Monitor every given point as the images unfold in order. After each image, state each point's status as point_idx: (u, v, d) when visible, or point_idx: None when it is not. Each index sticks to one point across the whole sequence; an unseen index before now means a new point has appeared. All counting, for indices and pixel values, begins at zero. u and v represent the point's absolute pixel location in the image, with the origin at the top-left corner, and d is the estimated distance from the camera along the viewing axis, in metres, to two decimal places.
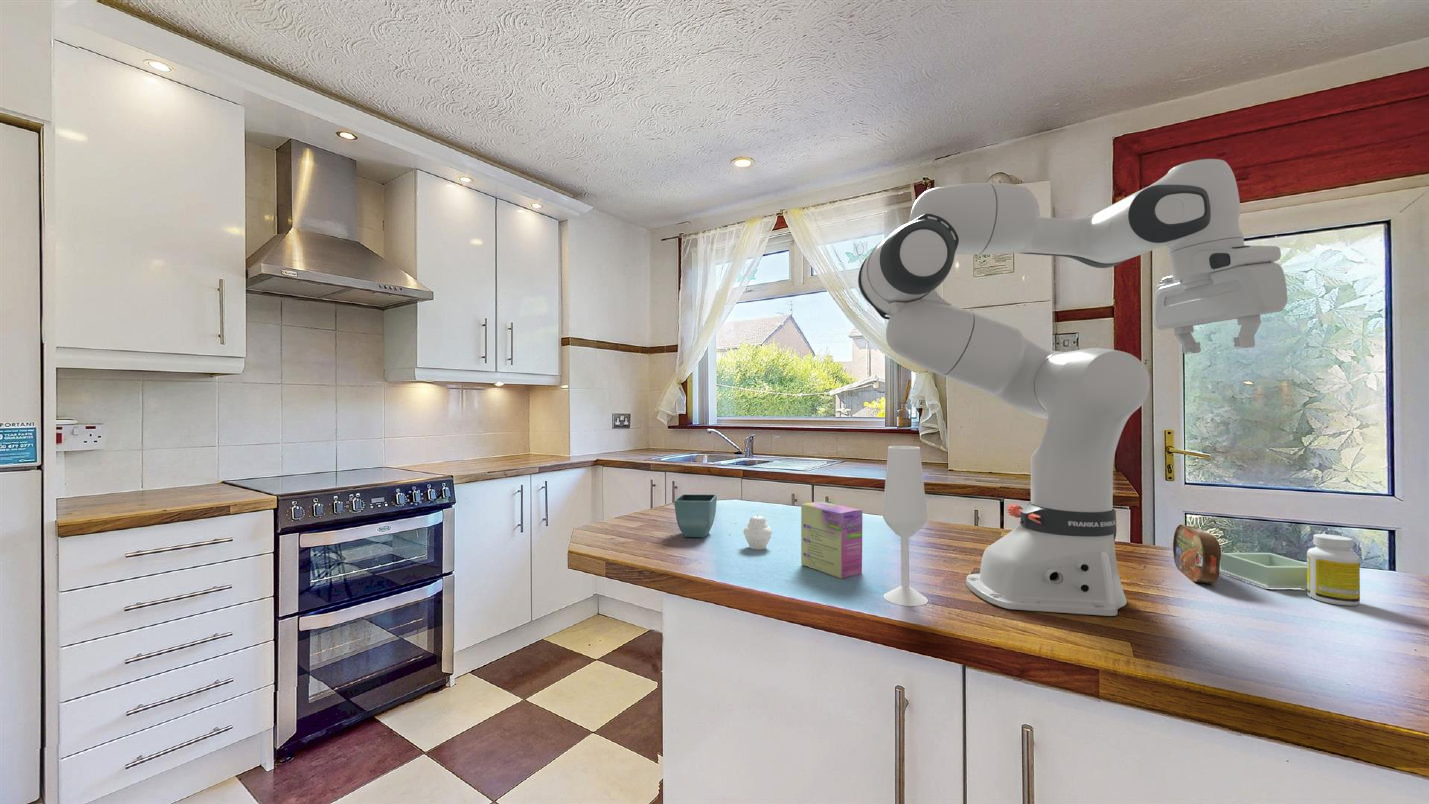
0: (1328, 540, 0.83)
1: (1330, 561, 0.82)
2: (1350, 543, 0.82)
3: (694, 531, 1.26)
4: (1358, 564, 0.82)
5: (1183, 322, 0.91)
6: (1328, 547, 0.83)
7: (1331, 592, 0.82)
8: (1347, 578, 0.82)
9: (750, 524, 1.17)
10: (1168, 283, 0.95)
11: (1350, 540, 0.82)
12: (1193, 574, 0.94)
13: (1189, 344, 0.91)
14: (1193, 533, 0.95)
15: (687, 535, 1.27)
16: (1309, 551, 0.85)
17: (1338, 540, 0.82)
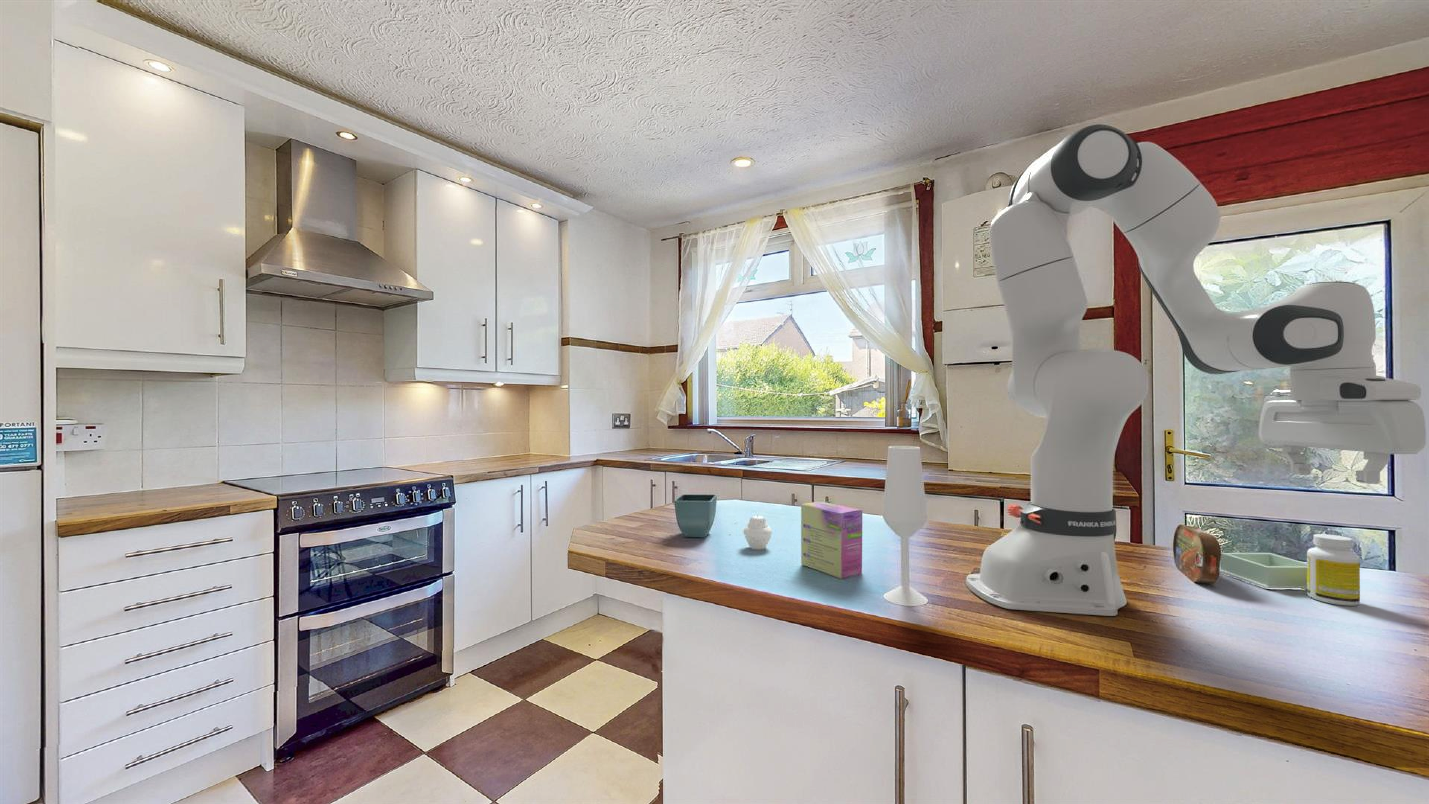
0: (1328, 540, 0.83)
1: (1330, 561, 0.82)
2: (1350, 543, 0.82)
3: (694, 531, 1.26)
4: (1358, 564, 0.82)
5: (1296, 442, 0.88)
6: (1328, 547, 0.83)
7: (1331, 592, 0.82)
8: (1347, 578, 0.82)
9: (750, 524, 1.17)
10: (1280, 397, 0.92)
11: (1350, 540, 0.82)
12: (1193, 574, 0.94)
13: (1299, 465, 0.88)
14: (1193, 533, 0.95)
15: (687, 535, 1.27)
16: (1309, 551, 0.85)
17: (1338, 540, 0.82)
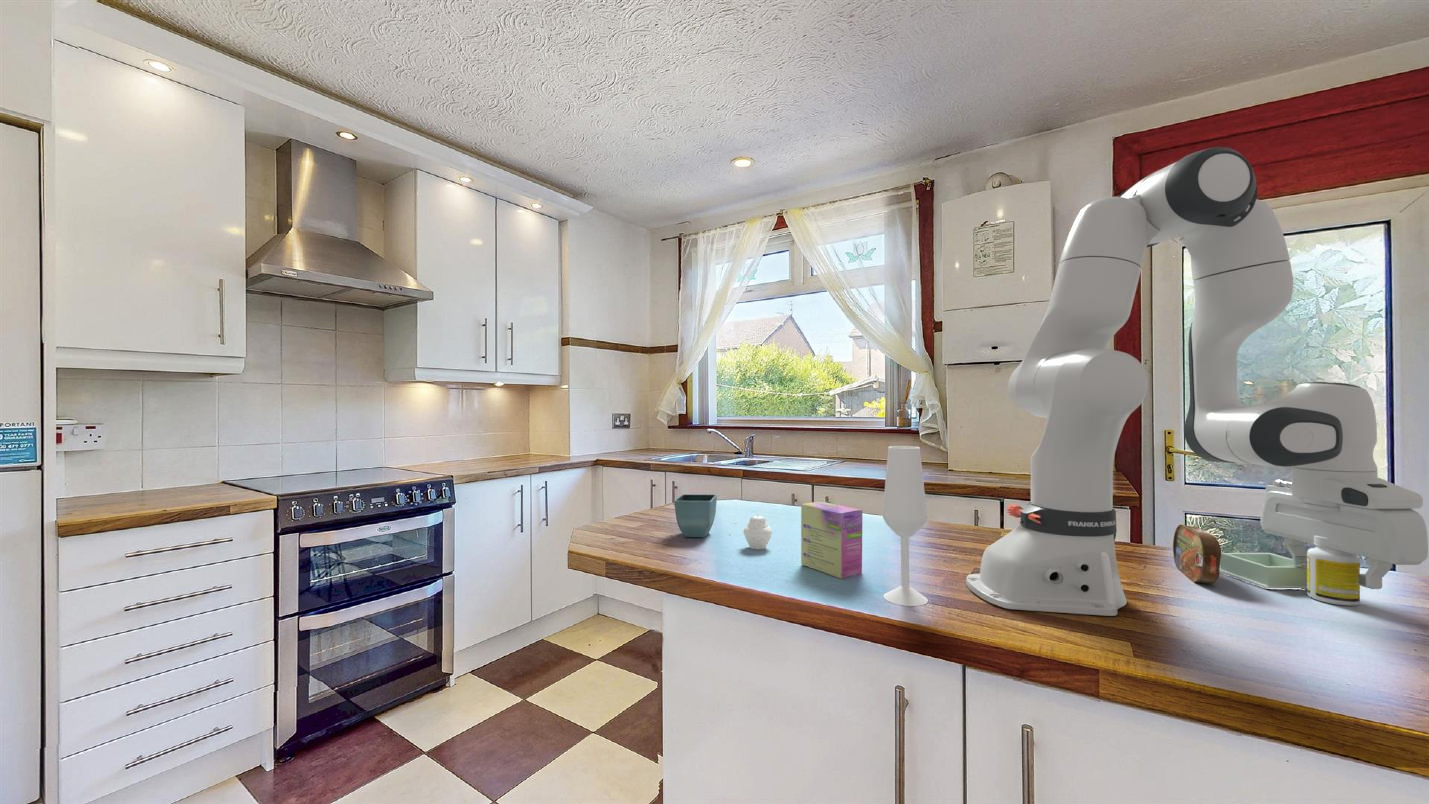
0: (1328, 540, 0.83)
1: (1330, 561, 0.82)
2: None
3: (694, 531, 1.26)
4: (1358, 564, 0.82)
5: (1297, 537, 0.88)
6: (1328, 547, 0.83)
7: (1331, 592, 0.82)
8: (1347, 578, 0.82)
9: (750, 524, 1.17)
10: (1281, 488, 0.92)
11: None
12: (1193, 574, 0.94)
13: (1301, 559, 0.88)
14: (1193, 533, 0.95)
15: (687, 535, 1.27)
16: (1309, 551, 0.85)
17: None
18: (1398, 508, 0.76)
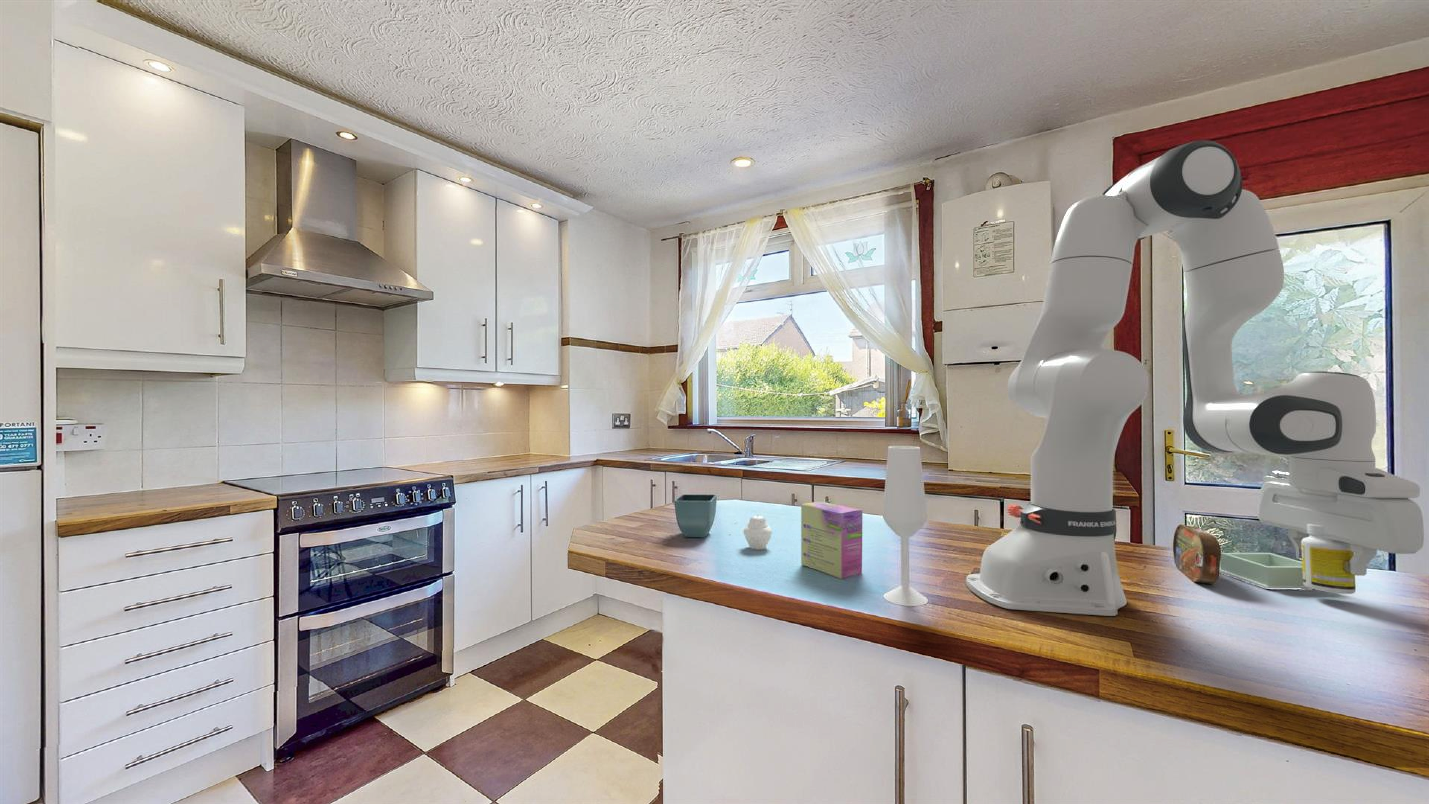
0: (1321, 528, 0.84)
1: (1324, 549, 0.83)
2: None
3: (694, 531, 1.26)
4: (1352, 552, 0.82)
5: (1294, 527, 0.88)
6: (1322, 535, 0.84)
7: (1326, 580, 0.82)
8: (1342, 566, 0.82)
9: (750, 524, 1.17)
10: (1279, 479, 0.92)
11: None
12: (1193, 574, 0.94)
13: None
14: (1193, 533, 0.95)
15: (687, 535, 1.27)
16: (1303, 540, 0.86)
17: None
18: (1395, 497, 0.76)
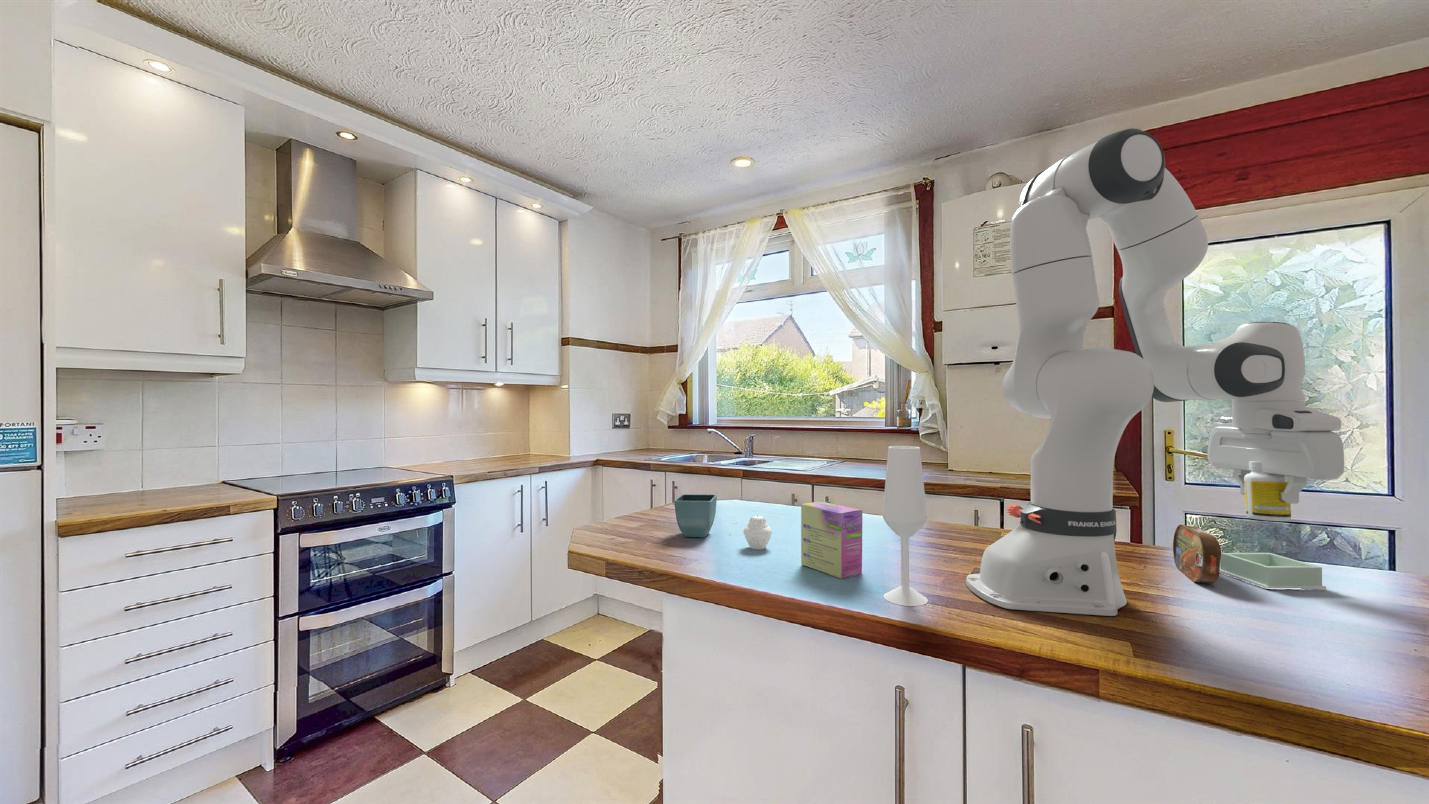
0: (1260, 463, 0.93)
1: (1263, 482, 0.92)
2: None
3: (694, 531, 1.26)
4: (1287, 483, 0.91)
5: (1237, 465, 0.97)
6: None
7: (1265, 510, 0.91)
8: (1278, 496, 0.91)
9: (750, 524, 1.17)
10: (1225, 424, 1.01)
11: None
12: (1193, 574, 0.94)
13: None
14: (1193, 533, 0.95)
15: (687, 535, 1.27)
16: (1245, 476, 0.95)
17: None
18: (1319, 430, 0.85)
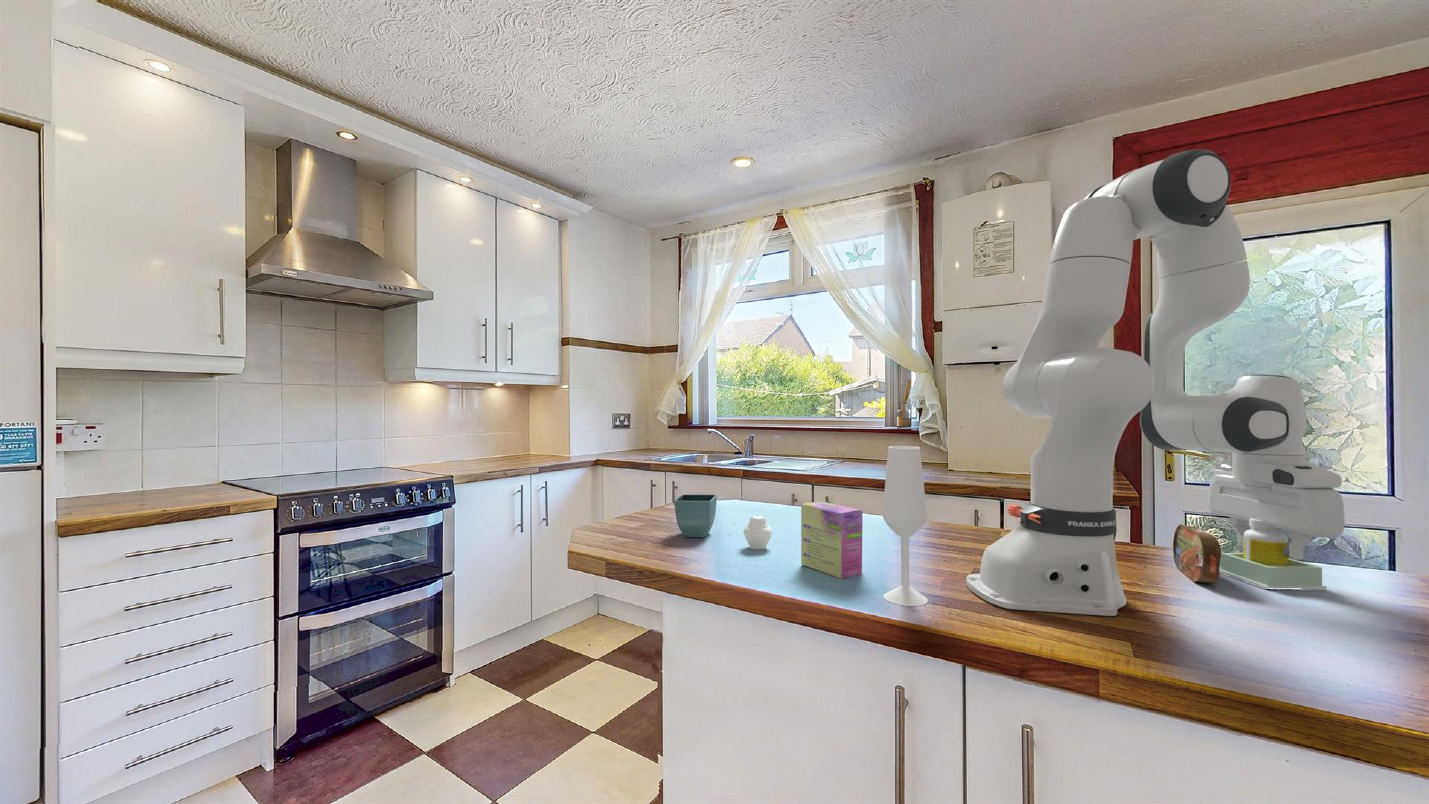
0: (1261, 522, 0.92)
1: (1262, 541, 0.92)
2: None
3: (694, 531, 1.26)
4: (1286, 544, 0.91)
5: (1238, 515, 0.97)
6: (1261, 529, 0.93)
7: None
8: (1276, 556, 0.91)
9: (750, 524, 1.17)
10: (1226, 472, 1.01)
11: None
12: (1193, 574, 0.94)
13: None
14: (1193, 533, 0.95)
15: (687, 535, 1.27)
16: (1245, 532, 0.95)
17: None
18: (1319, 487, 0.85)
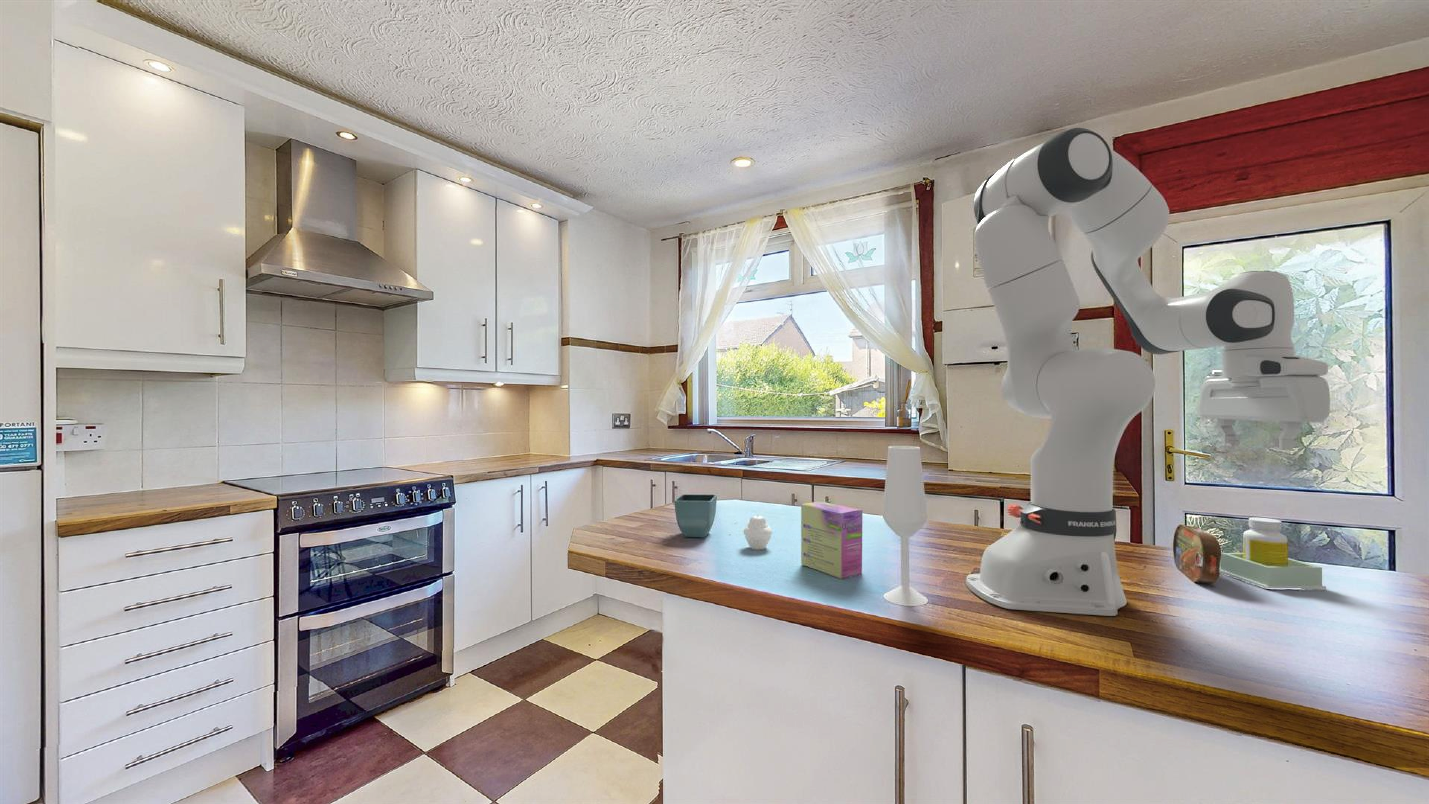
0: (1260, 522, 0.92)
1: (1261, 541, 0.92)
2: (1279, 525, 0.91)
3: (694, 531, 1.26)
4: (1286, 544, 0.91)
5: (1227, 416, 0.98)
6: (1260, 529, 0.93)
7: None
8: (1276, 556, 0.91)
9: (750, 524, 1.17)
10: (1216, 377, 1.02)
11: (1279, 522, 0.92)
12: (1193, 574, 0.94)
13: (1229, 436, 0.98)
14: (1193, 533, 0.95)
15: (687, 535, 1.27)
16: (1244, 533, 0.95)
17: (1268, 522, 0.92)
18: (1306, 374, 0.86)
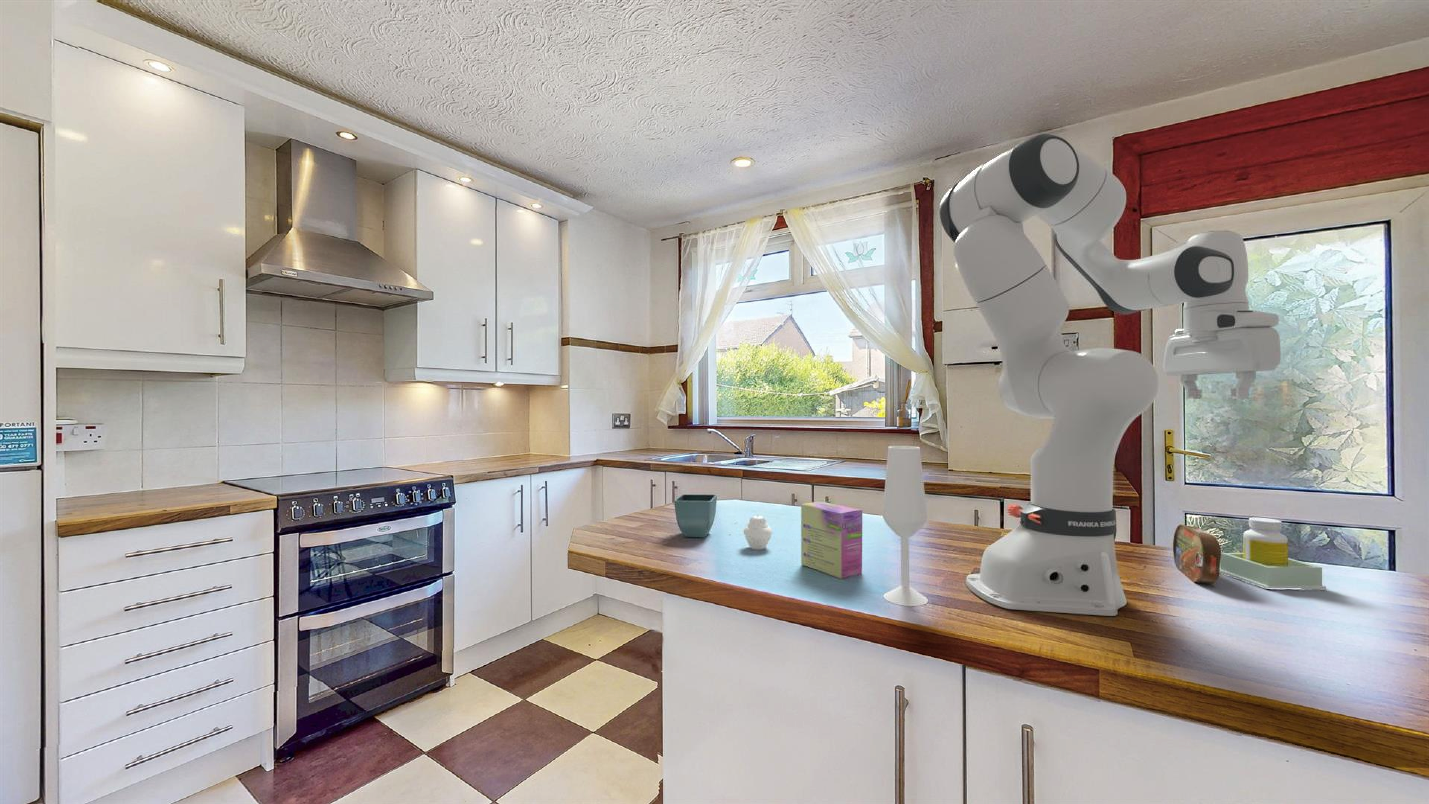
0: (1260, 522, 0.92)
1: (1262, 541, 0.92)
2: (1279, 525, 0.91)
3: (694, 531, 1.26)
4: (1286, 544, 0.91)
5: (1189, 371, 1.03)
6: (1260, 529, 0.93)
7: None
8: (1276, 556, 0.91)
9: (750, 524, 1.17)
10: (1179, 335, 1.07)
11: (1279, 522, 0.92)
12: (1193, 574, 0.94)
13: (1192, 390, 1.04)
14: (1193, 533, 0.95)
15: (687, 535, 1.27)
16: (1245, 533, 0.95)
17: (1269, 522, 0.92)
18: (1258, 325, 0.91)
